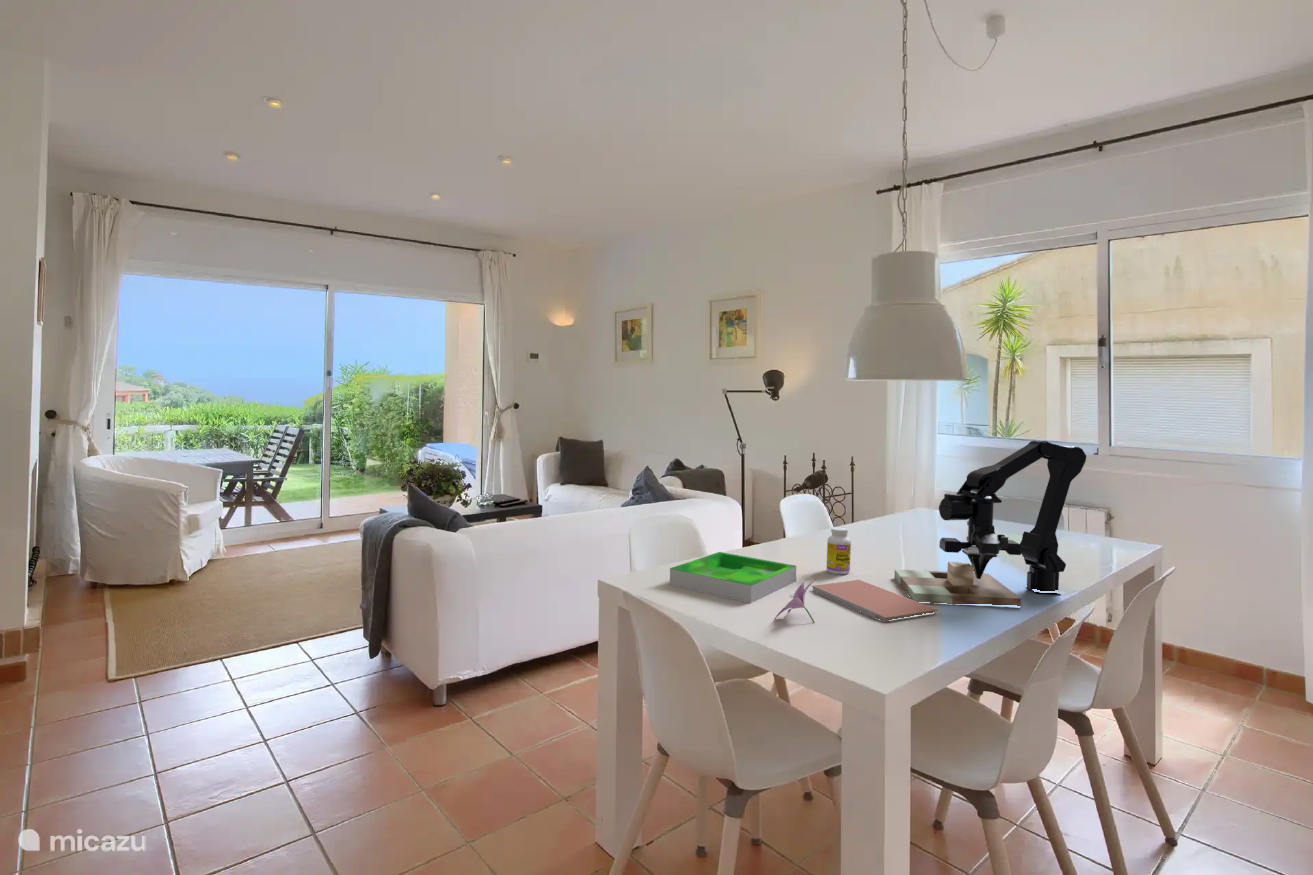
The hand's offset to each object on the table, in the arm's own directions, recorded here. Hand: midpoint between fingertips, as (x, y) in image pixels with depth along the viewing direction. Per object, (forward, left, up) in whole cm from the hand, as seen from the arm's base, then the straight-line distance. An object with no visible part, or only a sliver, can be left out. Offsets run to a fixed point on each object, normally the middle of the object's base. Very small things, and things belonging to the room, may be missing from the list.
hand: (978, 578), depth 176 cm
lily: (+49, +29, -4) cm, 57 cm away
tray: (+64, +1, -5) cm, 64 cm away
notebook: (+30, +12, -5) cm, 33 cm away
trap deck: (+6, 0, -4) cm, 7 cm away
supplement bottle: (+34, -16, -4) cm, 37 cm away
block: (+5, 0, -2) cm, 5 cm away
